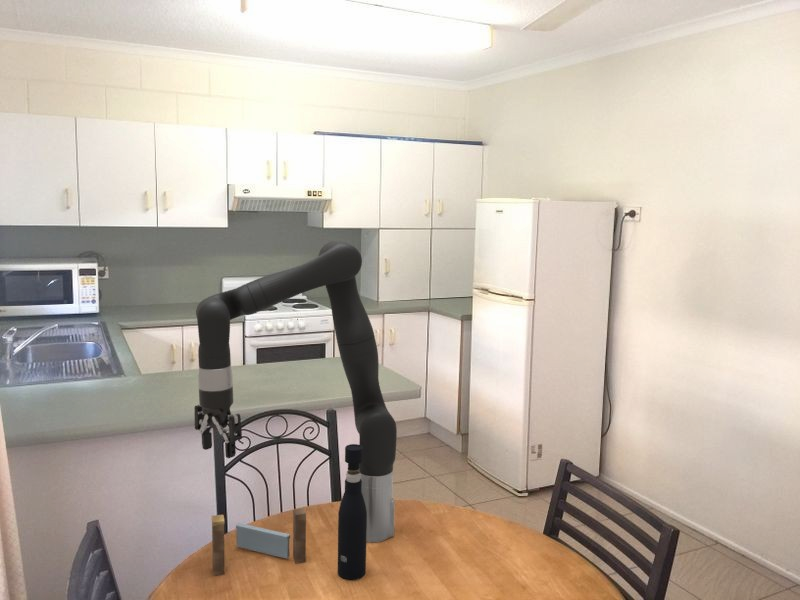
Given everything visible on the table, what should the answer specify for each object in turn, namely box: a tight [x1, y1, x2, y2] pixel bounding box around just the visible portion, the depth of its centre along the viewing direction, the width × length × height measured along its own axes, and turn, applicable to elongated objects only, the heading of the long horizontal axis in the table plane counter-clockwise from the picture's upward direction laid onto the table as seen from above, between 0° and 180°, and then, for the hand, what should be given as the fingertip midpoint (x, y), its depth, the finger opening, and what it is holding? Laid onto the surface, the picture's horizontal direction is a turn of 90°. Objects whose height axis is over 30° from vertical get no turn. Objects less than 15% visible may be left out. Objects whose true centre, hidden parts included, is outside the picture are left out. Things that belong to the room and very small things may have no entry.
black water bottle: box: [337, 443, 367, 581], centre depth 152 cm, size 6×6×30 cm
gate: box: [235, 522, 291, 560], centre depth 161 cm, size 14×1×6 cm, turn 69°
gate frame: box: [210, 507, 307, 577], centre depth 155 cm, size 21×3×13 cm, turn 109°
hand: (218, 452), depth 157 cm, fingers open, 8 cm apart
